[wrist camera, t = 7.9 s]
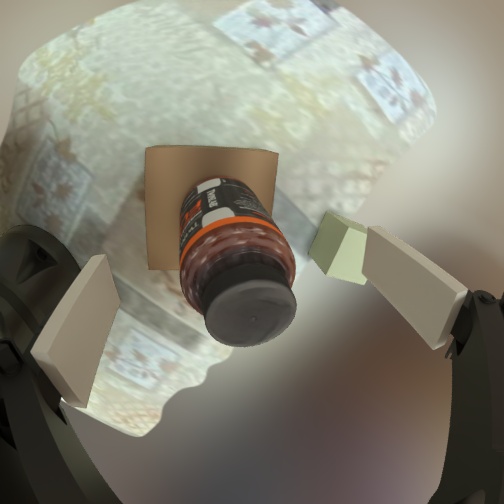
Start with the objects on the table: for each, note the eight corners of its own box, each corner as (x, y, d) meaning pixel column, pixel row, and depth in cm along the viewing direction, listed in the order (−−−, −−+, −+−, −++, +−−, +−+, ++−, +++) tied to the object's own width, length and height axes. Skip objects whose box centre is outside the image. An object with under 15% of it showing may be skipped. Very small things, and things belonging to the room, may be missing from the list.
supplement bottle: (182, 171, 18) (181, 254, 9) (263, 177, 20) (338, 258, 10) (177, 244, 21) (181, 363, 12) (250, 246, 23) (298, 355, 13)
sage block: (307, 253, 29) (325, 275, 25) (326, 210, 27) (348, 227, 23) (343, 263, 31) (364, 285, 26) (361, 224, 29) (386, 241, 24)
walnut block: (157, 246, 26) (148, 269, 22) (156, 145, 22) (145, 148, 18) (254, 247, 28) (264, 270, 24) (264, 149, 24) (278, 153, 20)
